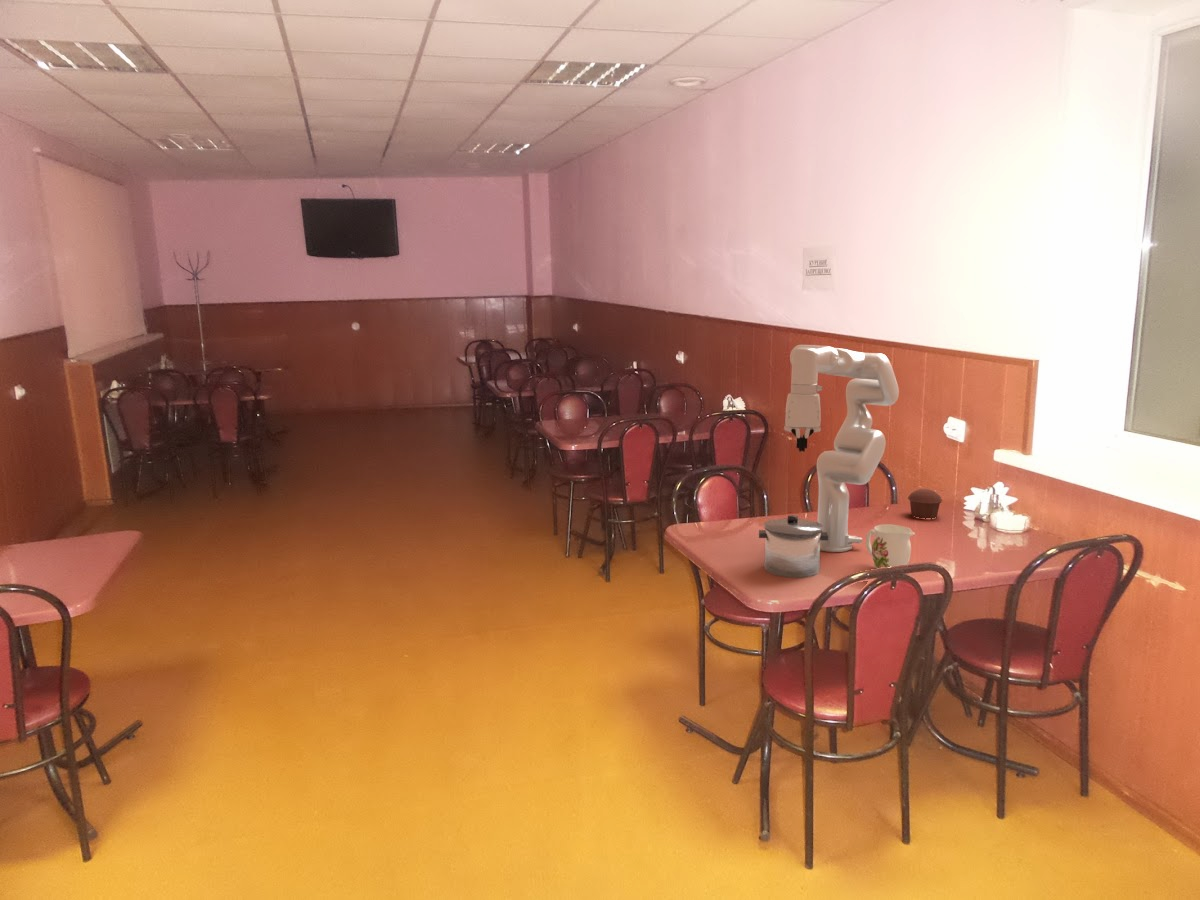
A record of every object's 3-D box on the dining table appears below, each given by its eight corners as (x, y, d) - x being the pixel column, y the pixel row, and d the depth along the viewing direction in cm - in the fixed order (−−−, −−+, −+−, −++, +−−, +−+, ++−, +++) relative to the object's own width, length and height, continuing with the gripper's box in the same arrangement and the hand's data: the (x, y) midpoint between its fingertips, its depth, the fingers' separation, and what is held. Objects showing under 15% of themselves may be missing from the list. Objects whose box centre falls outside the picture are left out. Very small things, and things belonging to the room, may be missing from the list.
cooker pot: (823, 560, 266) (824, 523, 264) (828, 579, 250) (830, 539, 247) (757, 557, 269) (758, 520, 267) (758, 576, 253) (759, 536, 250)
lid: (763, 520, 266) (763, 512, 266) (819, 523, 264) (820, 514, 263) (765, 534, 249) (765, 524, 249) (825, 536, 246) (825, 526, 246)
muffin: (941, 514, 318) (943, 488, 316) (941, 522, 308) (943, 495, 306) (907, 511, 322) (908, 485, 320) (906, 519, 312) (907, 492, 310)
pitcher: (878, 559, 267) (881, 516, 264) (924, 576, 251) (927, 531, 248) (851, 565, 262) (854, 521, 259) (896, 583, 246) (899, 536, 243)
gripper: (828, 388, 257) (826, 449, 260) (777, 387, 259) (775, 447, 262) (831, 391, 249) (828, 453, 253) (778, 391, 252) (776, 452, 255)
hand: (801, 450), depth 258 cm, fingers closed
